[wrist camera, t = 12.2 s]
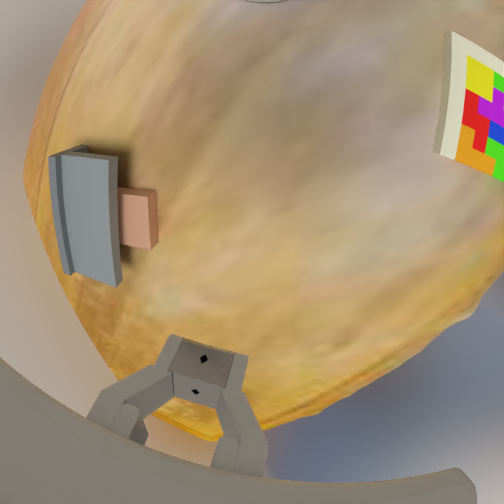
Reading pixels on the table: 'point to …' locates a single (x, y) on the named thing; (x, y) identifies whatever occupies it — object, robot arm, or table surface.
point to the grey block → (86, 213)
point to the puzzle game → (471, 107)
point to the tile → (137, 217)
